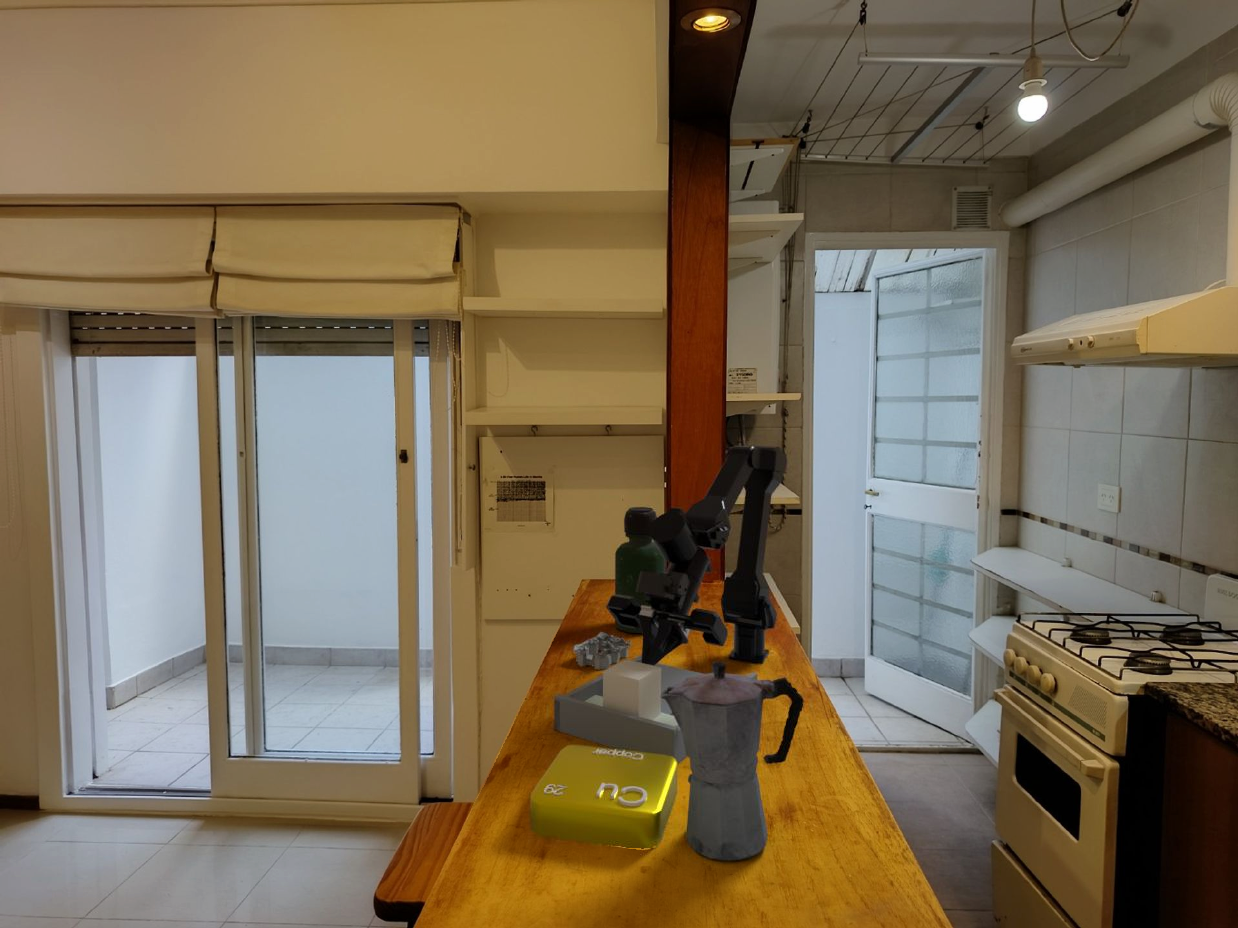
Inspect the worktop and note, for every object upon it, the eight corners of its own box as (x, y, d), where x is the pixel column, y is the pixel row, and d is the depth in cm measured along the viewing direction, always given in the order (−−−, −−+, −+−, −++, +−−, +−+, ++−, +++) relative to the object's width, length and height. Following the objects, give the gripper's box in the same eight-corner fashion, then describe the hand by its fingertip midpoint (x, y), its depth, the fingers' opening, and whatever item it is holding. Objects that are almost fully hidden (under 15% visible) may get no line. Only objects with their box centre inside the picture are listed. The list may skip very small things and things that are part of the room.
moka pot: (654, 817, 90) (655, 648, 88) (784, 812, 91) (789, 645, 89) (666, 867, 80) (667, 680, 79) (811, 861, 82) (817, 675, 80)
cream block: (626, 705, 116) (626, 659, 115) (660, 714, 113) (661, 667, 112) (602, 718, 111) (603, 671, 110) (638, 729, 108) (638, 679, 107)
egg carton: (603, 673, 137) (603, 650, 137) (569, 665, 141) (568, 643, 141) (635, 656, 146) (635, 634, 145) (601, 648, 150) (601, 628, 150)
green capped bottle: (674, 629, 162) (676, 510, 159) (634, 638, 156) (634, 514, 153) (645, 617, 170) (646, 503, 168) (605, 625, 164) (605, 507, 162)
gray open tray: (649, 675, 135) (650, 647, 135) (756, 701, 124) (757, 670, 124) (554, 729, 113) (554, 696, 113) (674, 766, 102) (674, 729, 102)
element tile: (679, 787, 98) (680, 751, 97) (657, 856, 83) (657, 813, 83) (565, 773, 101) (565, 738, 101) (524, 837, 87) (524, 796, 86)
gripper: (612, 543, 122) (569, 629, 114) (720, 557, 112) (681, 653, 104) (639, 582, 129) (600, 666, 121) (742, 599, 119) (708, 692, 111)
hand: (644, 668), depth 114 cm, fingers closed
